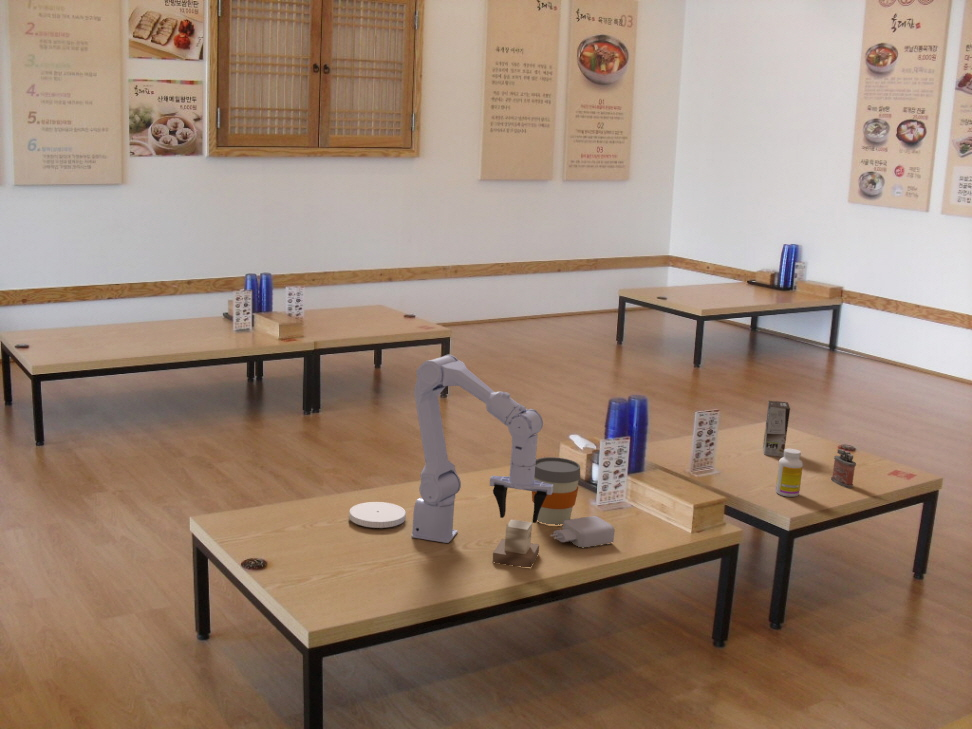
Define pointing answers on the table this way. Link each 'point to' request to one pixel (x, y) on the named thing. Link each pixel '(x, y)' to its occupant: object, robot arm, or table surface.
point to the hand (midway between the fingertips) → (518, 518)
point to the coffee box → (776, 428)
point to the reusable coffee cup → (557, 488)
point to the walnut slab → (515, 555)
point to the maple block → (518, 536)
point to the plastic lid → (377, 514)
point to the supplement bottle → (789, 473)
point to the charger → (586, 532)
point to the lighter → (843, 469)
